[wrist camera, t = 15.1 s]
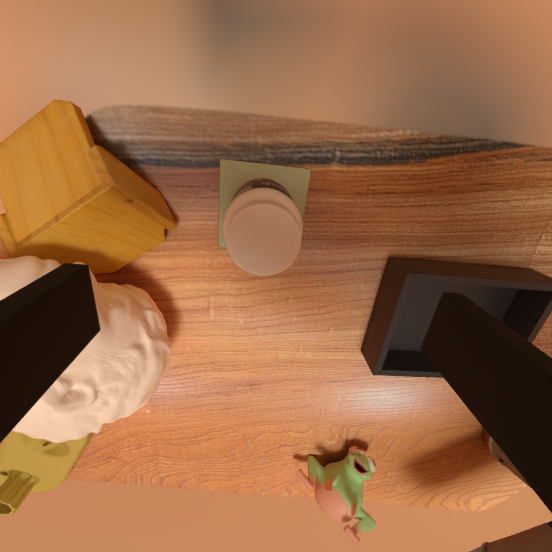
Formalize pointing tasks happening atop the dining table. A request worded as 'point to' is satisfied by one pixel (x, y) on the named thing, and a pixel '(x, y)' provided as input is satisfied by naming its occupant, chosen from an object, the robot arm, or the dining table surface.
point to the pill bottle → (263, 228)
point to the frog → (342, 489)
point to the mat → (243, 172)
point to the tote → (424, 300)
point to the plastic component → (34, 466)
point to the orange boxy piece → (74, 196)
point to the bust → (97, 359)
